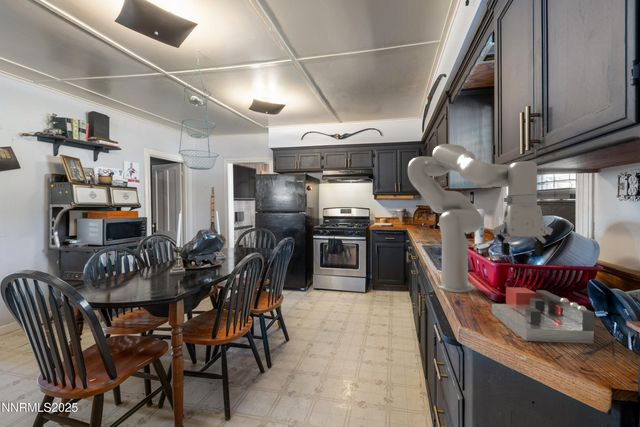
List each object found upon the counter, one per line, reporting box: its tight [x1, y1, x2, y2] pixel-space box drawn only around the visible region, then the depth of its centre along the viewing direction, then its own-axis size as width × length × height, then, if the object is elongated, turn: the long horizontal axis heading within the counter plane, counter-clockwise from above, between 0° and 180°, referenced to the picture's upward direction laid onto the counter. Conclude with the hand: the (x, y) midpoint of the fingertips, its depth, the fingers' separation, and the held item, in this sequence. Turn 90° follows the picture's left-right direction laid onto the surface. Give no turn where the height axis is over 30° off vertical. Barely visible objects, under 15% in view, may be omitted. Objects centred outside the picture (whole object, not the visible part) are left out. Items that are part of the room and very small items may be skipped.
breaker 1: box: [530, 298, 545, 312], centre depth 83 cm, size 2×2×3 cm
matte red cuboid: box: [505, 286, 536, 305], centre depth 93 cm, size 6×6×6 cm
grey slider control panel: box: [491, 289, 595, 344], centre depth 79 cm, size 18×15×8 cm
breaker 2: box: [525, 308, 541, 323], centre depth 75 cm, size 2×2×3 cm
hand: (522, 255), depth 92 cm, fingers open, 9 cm apart
